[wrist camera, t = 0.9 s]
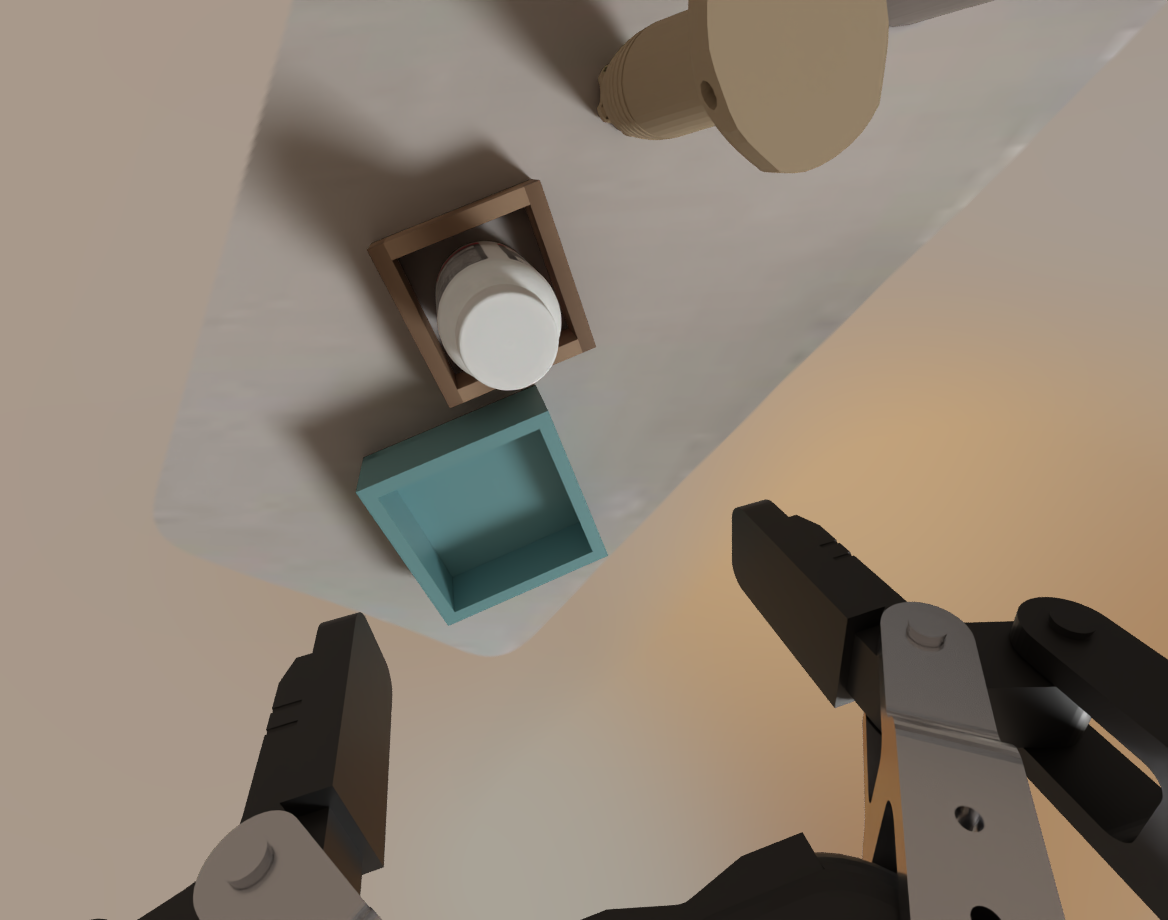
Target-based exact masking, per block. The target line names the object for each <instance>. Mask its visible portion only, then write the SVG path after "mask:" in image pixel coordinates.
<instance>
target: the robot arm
mask: <svg viewBox="0 0 1168 920" xmlns="http://www.w3.org/2000/svg"><path fill="white" fill-rule="evenodd" d="M991 1H994V0H886V2H887V11H888V20H889V26H891V27H896V26H904V25H910V24H914V23H917V22H921V21H924V20H927V19H931V18H934V17H938V16H941V15H945V14H948V13H951V12H955V11H958V10H962V9H965V8H969V7H973V6H977V5H980V4H984V3H987V2H991ZM732 565H733V570H734V574H735V576H736V579H737V581H738V583H739V585H740V587H741V588H742V590H743V591H744V592H745V594H746V595H747V596H748V598H749V599H750V600H751V601H752V603H753V604H754V605H755V607H756V608H757V609H758V610H759V612H760V613H761V614H762V615H763V617H764V618H765V619H766V621H767V622H768V623H769V624H770V626H771V627H772V628H773V629H774V631H775V632H776V633H777V635H778V636H779V637H780V639H781V640H782V641H783V642H784V644H785V645H786V646H787V647H788V649H789V650H790V651H791V653H792V654H793V655H794V656H795V658H796V659H797V660H798V662H799V663H800V664H801V665H802V667H803V668H804V669H805V671H806V672H807V673H808V674H809V676H810V677H811V678H812V680H813V681H814V682H815V683H816V685H817V686H818V687H819V688H820V690H821V691H822V692H823V694H824V695H825V696H826V697H827V699H828V700H829V701H830V703H831V704H832V705H833V706H834V708H836V707H839V706H842V705H845V704H848V703H851V702H853V701H856V703H857V704H858V705H859V706H860V708H861V709H862V710H863V711H864V713H863V720H862V728H863V763H864V802H865V823H864V836H863V850H862V859H860V858H856V857H852V856H847V855H843V854H836V853H824V852H817V853H814V851H813V849H812V848H811V846H810V844H809V843H808V841H807V839H806V838H805V836H804V834H803V833H799V834H797V835H794V836H792V837H789V838H787V839H784V840H782V841H779V842H776V843H774V844H771V845H769V846H766V847H764V848H761V849H759V850H756V851H754V852H751V853H749V854H746V855H744V856H741V857H740V858H739V859H738V860H737V861H735V862H734V863H733V864H732V865H730V866H729V867H728V868H727V869H726V870H725V871H723V872H722V873H721V874H720V875H718V876H717V877H716V878H715V879H714V880H713V881H711V882H710V883H709V884H708V885H706V886H705V887H704V888H703V889H702V890H701V891H699V892H698V893H697V894H696V895H695V896H693V897H692V898H691V899H690V900H688V901H687V902H685V903H682V904H679V905H669V906H655V907H639V908H625V909H610V910H605V911H602V912H600V913H597V914H594V915H592V916H590V917H587V918H584V919H582V920H1065V917H1064V913H1063V909H1062V906H1061V902H1060V898H1059V895H1058V891H1057V887H1056V884H1055V880H1054V876H1053V873H1052V869H1051V865H1050V861H1049V858H1048V854H1047V850H1046V847H1045V843H1044V839H1043V836H1042V832H1041V828H1040V824H1039V821H1038V817H1037V813H1036V810H1035V806H1034V802H1033V799H1032V795H1031V791H1030V788H1029V784H1028V780H1027V778H1028V779H1029V780H1030V781H1031V782H1032V783H1033V784H1034V785H1035V786H1036V787H1037V788H1038V789H1039V790H1040V792H1041V793H1042V794H1043V795H1044V796H1045V797H1046V798H1047V799H1048V800H1049V801H1050V802H1051V803H1052V804H1053V805H1054V807H1055V808H1056V809H1058V811H1059V812H1060V813H1061V814H1062V815H1063V816H1064V817H1065V818H1066V819H1067V820H1068V821H1069V822H1070V823H1071V825H1072V826H1073V827H1074V828H1075V829H1076V830H1077V831H1078V832H1079V833H1080V834H1081V835H1082V836H1083V837H1084V839H1085V840H1086V841H1087V842H1088V843H1089V844H1090V845H1091V846H1092V847H1093V848H1094V849H1095V850H1096V851H1097V852H1098V854H1099V855H1100V856H1101V857H1102V858H1103V859H1104V860H1105V861H1106V862H1107V863H1108V864H1109V865H1110V866H1111V867H1112V868H1113V870H1114V871H1115V872H1116V873H1117V874H1118V875H1119V876H1120V877H1121V878H1122V879H1123V880H1124V881H1125V882H1126V883H1127V884H1128V886H1129V887H1130V888H1131V889H1132V890H1133V891H1134V892H1135V893H1136V894H1137V895H1138V896H1139V897H1140V898H1141V899H1142V901H1143V902H1144V903H1145V904H1146V905H1147V906H1148V907H1149V908H1150V909H1151V910H1152V911H1153V912H1154V913H1155V914H1156V915H1157V916H1158V918H1159V919H1160V920H1168V659H1166V658H1165V657H1163V656H1162V655H1160V654H1159V653H1157V652H1156V651H1155V650H1153V649H1152V648H1150V647H1149V646H1147V645H1146V644H1144V643H1143V642H1141V641H1140V640H1139V639H1137V638H1136V637H1134V636H1133V635H1131V634H1130V633H1128V632H1127V631H1126V630H1124V629H1123V628H1121V627H1120V626H1118V625H1117V624H1115V623H1114V622H1113V621H1111V620H1110V619H1108V618H1107V617H1105V616H1104V615H1102V614H1100V613H1099V612H1097V611H1095V610H1093V609H1091V608H1089V607H1087V606H1084V605H1082V604H1079V603H1076V602H1073V601H1069V600H1065V599H1060V598H1053V597H1038V598H1033V599H1029V600H1027V601H1025V602H1023V603H1022V604H1021V605H1020V606H1019V608H1018V611H1017V614H1016V617H1015V620H1014V621H1007V622H974V623H964V622H963V621H961V620H960V619H959V618H958V617H956V616H955V615H953V614H951V613H950V612H948V611H946V610H944V609H942V608H939V607H937V606H933V605H930V604H925V603H920V602H907V601H906V600H904V599H903V598H902V597H901V596H900V595H899V594H898V593H896V592H895V591H894V590H893V589H891V587H890V586H888V585H887V584H886V583H885V582H884V581H883V580H881V579H880V578H879V577H878V576H877V575H876V574H875V573H873V572H872V571H871V570H870V569H869V568H868V567H867V566H865V565H864V564H863V563H862V562H861V561H860V560H859V559H857V558H856V557H855V556H851V553H850V552H849V551H848V550H847V549H846V548H845V547H844V546H843V545H841V544H840V543H837V541H836V539H835V538H833V537H832V536H831V535H830V534H829V533H828V532H827V531H825V530H824V529H823V528H822V527H821V526H820V525H818V524H816V523H813V522H811V521H809V520H807V519H804V518H802V517H800V516H798V515H794V516H791V517H788V516H787V515H786V514H784V512H783V511H781V510H780V509H779V508H778V507H777V506H776V505H775V504H774V503H772V502H771V501H770V500H762V501H759V502H755V503H752V504H748V505H745V506H741V507H737V508H735V509H734V510H733V514H732ZM272 709H273V713H271V714H270V718H269V722H268V725H267V729H266V730H267V735H265V737H264V740H263V744H262V747H261V751H260V754H259V758H258V762H257V765H256V769H255V773H254V776H253V780H252V784H251V788H250V791H249V795H248V799H247V802H246V806H245V810H244V813H243V817H242V819H241V822H240V825H238V826H237V827H236V828H235V829H233V830H232V831H231V832H229V833H228V834H227V835H226V836H225V837H224V838H223V839H222V840H221V841H220V843H219V844H218V845H217V846H216V847H215V848H214V849H213V851H212V852H211V854H210V855H209V856H208V858H207V859H206V861H205V863H204V865H203V866H202V868H201V870H200V872H199V875H198V877H197V880H196V882H194V883H193V884H192V885H190V886H189V887H187V888H186V889H185V890H183V891H182V892H180V893H178V894H177V895H175V896H174V897H172V898H171V899H169V900H168V901H166V902H165V903H163V904H161V905H160V906H158V907H157V908H155V909H154V910H152V911H151V912H149V913H147V914H146V915H144V916H143V917H141V918H140V919H138V920H382V919H381V918H380V917H379V916H378V915H377V914H376V912H375V911H374V910H373V909H372V908H371V907H369V906H368V905H367V904H366V903H365V901H364V900H363V899H362V898H361V896H360V891H361V879H362V875H363V874H366V873H369V872H371V871H374V870H377V869H380V868H382V867H384V850H385V829H386V811H387V791H388V769H389V750H390V729H391V710H392V685H391V678H390V674H389V670H388V666H387V664H386V661H385V659H384V657H383V655H382V653H381V650H380V648H379V646H378V644H377V642H376V640H375V637H374V635H373V633H372V631H371V628H370V626H369V624H368V622H367V620H366V618H365V616H364V615H363V614H362V613H361V612H359V613H355V614H352V615H348V616H345V617H341V618H337V619H334V620H330V621H327V622H323V623H321V624H320V625H319V627H318V631H317V635H316V640H315V644H314V648H313V653H312V654H308V655H305V656H301V657H298V658H296V659H295V661H294V662H293V664H292V665H291V667H290V668H289V669H288V671H287V672H286V674H285V675H284V677H283V678H282V679H281V681H280V682H279V685H278V689H277V692H276V696H275V699H274V703H273V707H272ZM1091 718H1093V719H1094V720H1095V721H1096V722H1097V723H1098V724H1100V725H1101V726H1102V727H1103V728H1104V729H1105V730H1106V731H1108V732H1109V733H1110V734H1111V735H1112V736H1114V737H1115V738H1116V739H1117V740H1118V741H1119V742H1120V743H1121V744H1123V745H1124V746H1125V747H1126V748H1127V749H1128V750H1130V751H1131V752H1132V753H1133V754H1134V755H1135V756H1137V757H1138V758H1139V759H1140V760H1141V761H1142V762H1143V763H1144V764H1145V765H1147V767H1148V768H1149V769H1150V770H1151V771H1152V772H1153V774H1154V775H1155V776H1156V778H1157V780H1158V782H1159V784H1160V786H1161V787H1159V786H1158V785H1157V784H1156V783H1155V782H1154V781H1153V780H1151V779H1150V778H1149V777H1148V776H1147V775H1146V774H1145V773H1144V772H1142V771H1141V770H1140V769H1139V768H1138V767H1137V766H1136V765H1134V764H1133V763H1132V762H1131V761H1130V760H1129V759H1128V758H1127V757H1125V756H1124V755H1123V754H1122V753H1121V752H1120V751H1119V750H1117V749H1116V748H1115V747H1114V746H1113V745H1112V744H1110V743H1109V742H1108V741H1107V740H1106V739H1105V738H1104V737H1103V736H1102V735H1100V734H1099V733H1098V732H1097V731H1096V730H1095V729H1094V728H1092V727H1091V726H1090V725H1089V722H1090V720H1091ZM93 920H106V919H93Z"/></svg>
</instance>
